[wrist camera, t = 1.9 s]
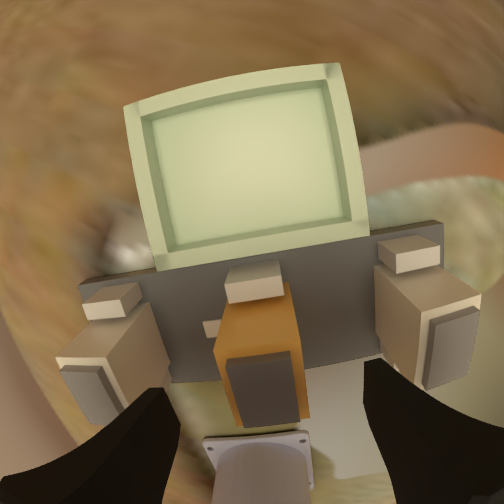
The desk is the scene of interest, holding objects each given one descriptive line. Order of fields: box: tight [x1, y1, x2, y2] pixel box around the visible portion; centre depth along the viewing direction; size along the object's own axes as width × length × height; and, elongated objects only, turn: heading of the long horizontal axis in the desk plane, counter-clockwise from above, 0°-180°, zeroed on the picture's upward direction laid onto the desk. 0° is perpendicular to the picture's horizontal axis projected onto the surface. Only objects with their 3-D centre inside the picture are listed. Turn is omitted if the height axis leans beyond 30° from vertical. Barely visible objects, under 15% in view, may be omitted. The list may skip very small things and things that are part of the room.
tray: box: [123, 63, 370, 272], centre depth 14 cm, size 8×10×2 cm
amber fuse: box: [213, 282, 310, 428], centre depth 13 cm, size 4×3×6 cm
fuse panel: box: [55, 220, 481, 426], centre depth 13 cm, size 7×21×7 cm, turn 101°
